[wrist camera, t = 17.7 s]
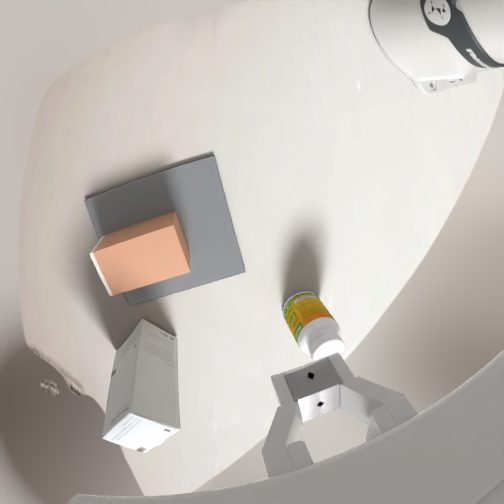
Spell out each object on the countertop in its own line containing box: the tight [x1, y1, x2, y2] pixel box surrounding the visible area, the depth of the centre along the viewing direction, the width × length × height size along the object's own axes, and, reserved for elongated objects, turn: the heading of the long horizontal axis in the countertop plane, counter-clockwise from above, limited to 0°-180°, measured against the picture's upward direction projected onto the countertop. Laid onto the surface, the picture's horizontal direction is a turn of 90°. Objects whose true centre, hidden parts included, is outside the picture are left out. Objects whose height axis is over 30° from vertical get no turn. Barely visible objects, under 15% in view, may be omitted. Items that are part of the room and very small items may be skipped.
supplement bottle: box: [283, 291, 345, 361], centre depth 35 cm, size 5×5×10 cm
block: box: [90, 211, 190, 296], centre depth 29 cm, size 5×5×9 cm
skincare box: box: [103, 318, 181, 453], centre depth 30 cm, size 8×6×15 cm
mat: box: [84, 156, 245, 306], centre depth 31 cm, size 15×14×1 cm
